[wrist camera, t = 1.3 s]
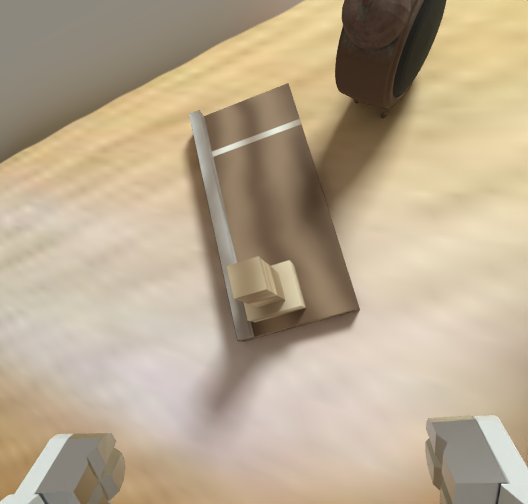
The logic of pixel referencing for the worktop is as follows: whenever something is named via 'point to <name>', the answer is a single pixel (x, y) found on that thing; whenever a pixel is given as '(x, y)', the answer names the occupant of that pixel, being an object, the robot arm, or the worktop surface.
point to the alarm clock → (384, 47)
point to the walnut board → (271, 206)
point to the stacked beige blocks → (266, 288)
